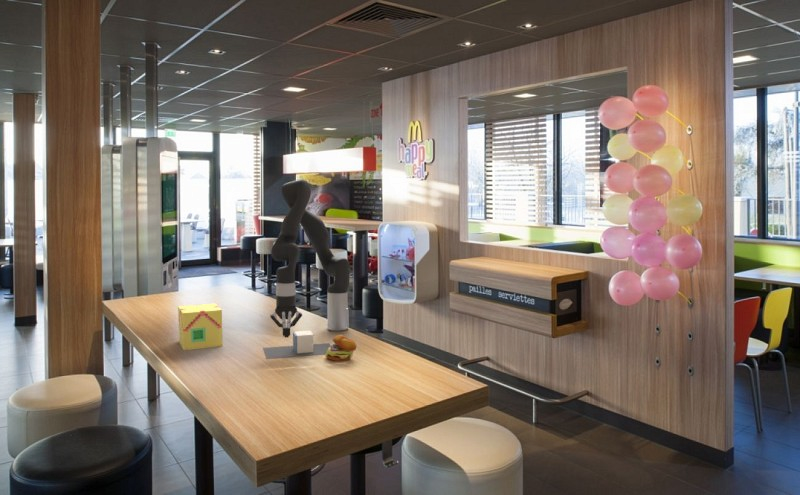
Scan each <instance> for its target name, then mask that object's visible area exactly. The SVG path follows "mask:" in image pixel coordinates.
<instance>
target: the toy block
mask: <svg viewBox="0 0 800 495" xmlns="http://www.w3.org/2000/svg"><path fill="white" fill-rule="evenodd" d="M177 310H178V311H177V315H178V342H179V344H180V346H181V348H182V349H183V351H187V350H197V349H206V348H215V347H216V348H217V347H223V309H222V308H220V307H219V306H218V304H217V303H203V304H196V305H195V304H190V305H188V304H187V305H179V306H177Z"/></svg>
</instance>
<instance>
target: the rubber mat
mask: <svg viewBox="0 0 800 495" xmlns="http://www.w3.org/2000/svg"><path fill="white" fill-rule="evenodd" d="M330 346H332V345H331V344H330V343H329V342H325V343H317V344H316V343H313V352H308V353H295V352H294V350H293V345H286V346H271V347H262V349H263V353H264V355H265V359H266V360H272V359H273V360H274V359H287V358H297V357H298V358H299V357H310V356H312V357H313V356H323V355H326V353H327V351H328V348H329V347H330Z"/></svg>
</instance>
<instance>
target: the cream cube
mask: <svg viewBox="0 0 800 495" xmlns="http://www.w3.org/2000/svg"><path fill="white" fill-rule="evenodd" d="M313 344H314V334H313V332H312V331H311V330H300V331H299V330H298V331H292V346H293V350H294V352H295V353H308V352H313Z"/></svg>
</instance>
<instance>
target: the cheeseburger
mask: <svg viewBox="0 0 800 495" xmlns="http://www.w3.org/2000/svg"><path fill="white" fill-rule="evenodd" d="M332 342H333V344H332V345H331V346H330V347H329V348H328V351H327V353H326V355H325V358H326V359H327V360H330V361H331V360H332V361H335V362H345V361H348V360H350V359H351V358H352V357H353V354H354V351H356V349H357V344H356V341H355V340H354V339H349V338H348V337H347V336H345V335H343V334H338V335H336V336H334V338H332Z"/></svg>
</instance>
